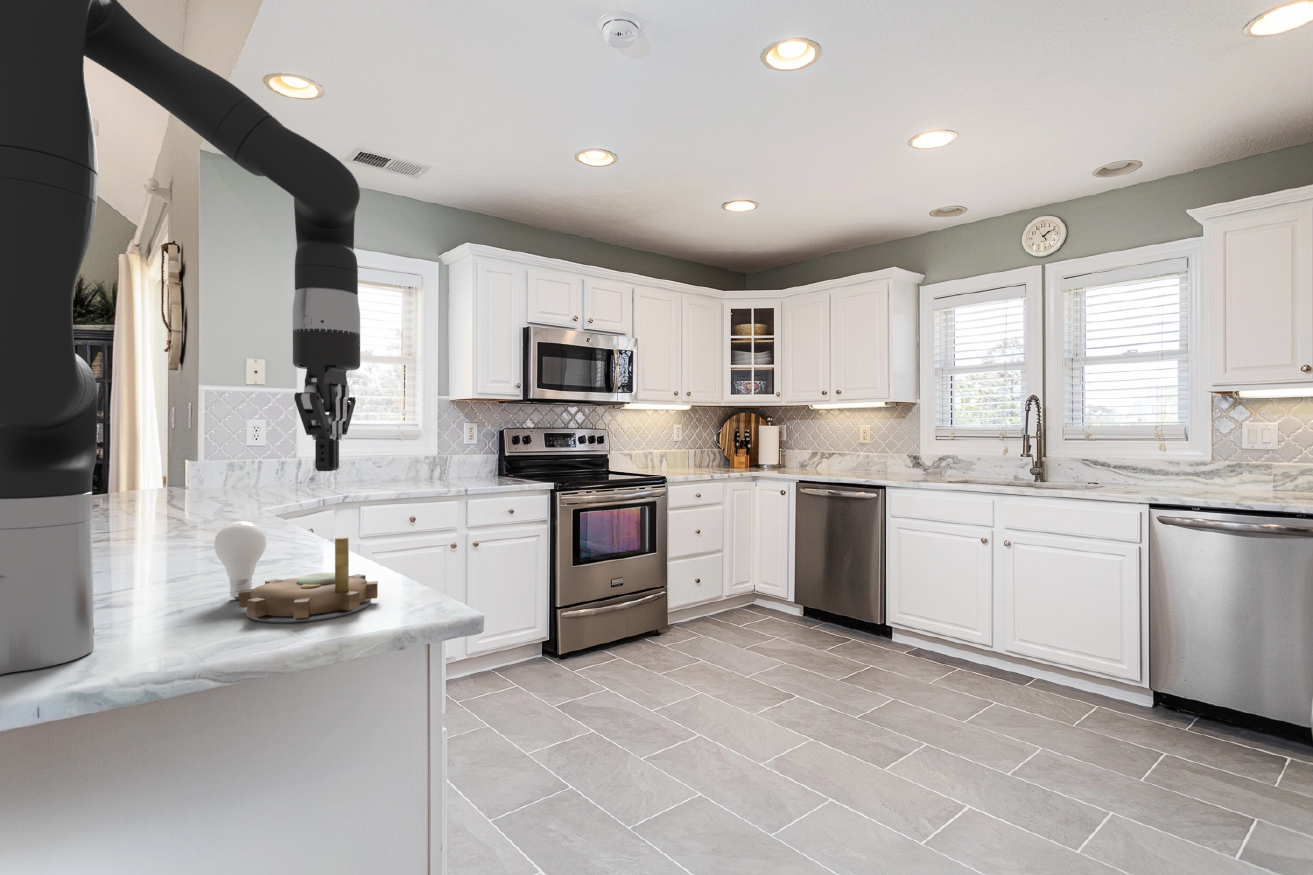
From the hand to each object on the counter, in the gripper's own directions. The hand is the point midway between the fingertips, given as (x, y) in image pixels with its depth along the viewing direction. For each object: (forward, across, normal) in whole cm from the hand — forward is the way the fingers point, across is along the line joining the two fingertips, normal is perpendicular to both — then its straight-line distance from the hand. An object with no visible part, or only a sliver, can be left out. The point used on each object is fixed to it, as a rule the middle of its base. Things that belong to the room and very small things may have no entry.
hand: (327, 470), depth 85 cm
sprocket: (+19, +8, +5) cm, 21 cm away
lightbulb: (+19, +12, +17) cm, 28 cm away
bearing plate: (+19, +8, +5) cm, 21 cm away
